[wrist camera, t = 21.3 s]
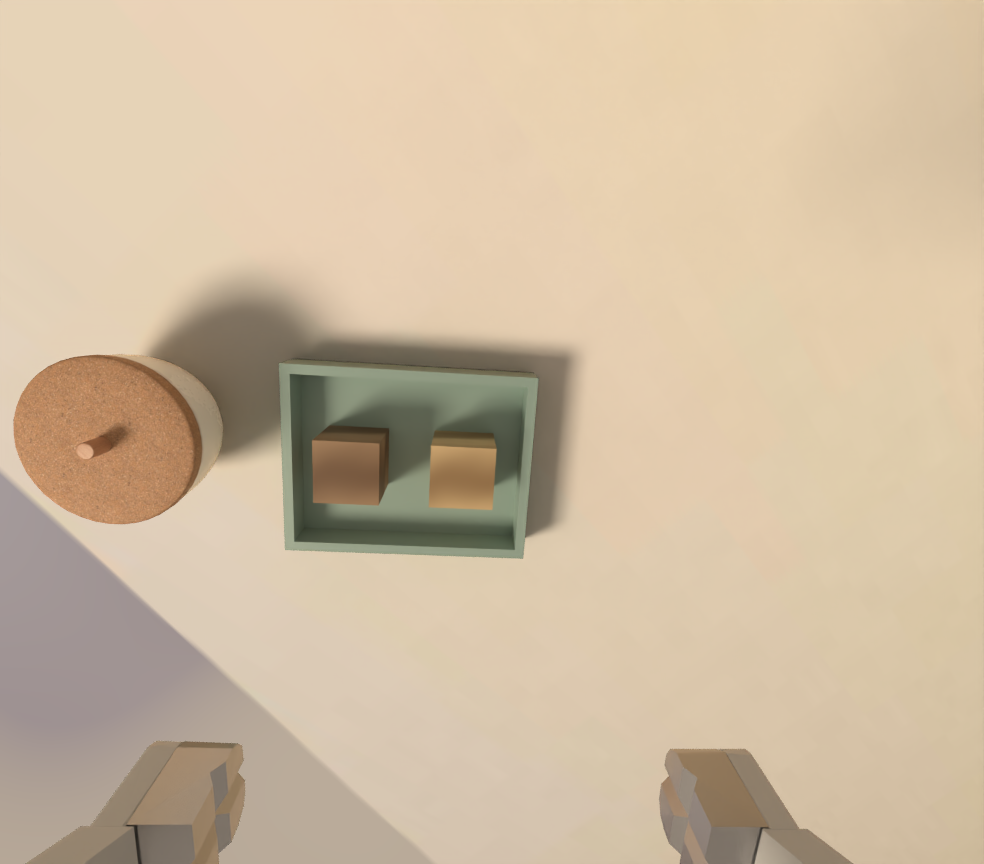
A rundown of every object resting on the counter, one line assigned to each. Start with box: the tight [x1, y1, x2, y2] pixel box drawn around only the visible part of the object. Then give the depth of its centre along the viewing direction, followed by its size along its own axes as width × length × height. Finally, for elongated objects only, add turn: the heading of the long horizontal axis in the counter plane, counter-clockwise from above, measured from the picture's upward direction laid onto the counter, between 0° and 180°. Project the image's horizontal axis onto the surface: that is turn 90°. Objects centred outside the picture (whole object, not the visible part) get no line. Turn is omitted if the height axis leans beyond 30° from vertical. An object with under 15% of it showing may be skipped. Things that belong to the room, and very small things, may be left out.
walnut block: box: [312, 425, 389, 506], centre depth 37 cm, size 4×4×4 cm
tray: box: [279, 359, 539, 559], centre depth 39 cm, size 14×18×3 cm
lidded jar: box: [14, 354, 223, 524], centre depth 34 cm, size 11×11×9 cm
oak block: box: [429, 430, 497, 510], centre depth 38 cm, size 4×4×4 cm
